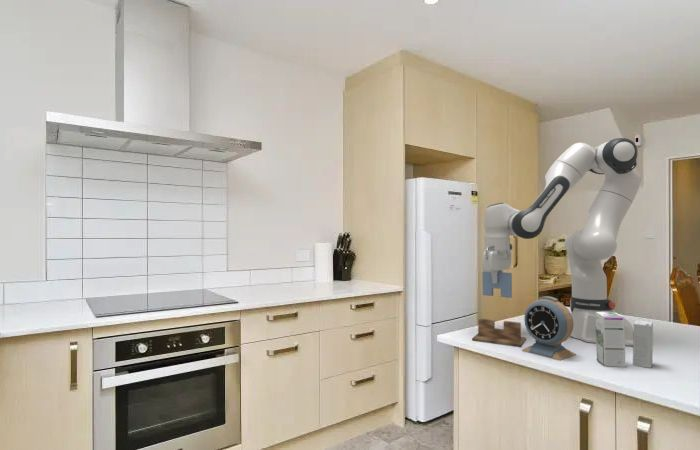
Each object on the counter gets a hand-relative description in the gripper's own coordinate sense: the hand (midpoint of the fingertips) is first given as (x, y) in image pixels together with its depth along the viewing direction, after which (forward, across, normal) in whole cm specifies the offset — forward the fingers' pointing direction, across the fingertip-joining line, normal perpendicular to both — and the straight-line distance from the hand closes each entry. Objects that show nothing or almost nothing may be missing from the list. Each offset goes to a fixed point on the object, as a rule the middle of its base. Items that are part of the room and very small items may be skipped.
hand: (497, 282), depth 155 cm
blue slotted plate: (+5, 0, 0) cm, 5 cm away
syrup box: (+19, -15, -38) cm, 45 cm away
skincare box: (+19, -10, -45) cm, 50 cm away
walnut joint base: (+19, -9, -4) cm, 22 cm away
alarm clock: (+19, -15, -21) cm, 32 cm away
